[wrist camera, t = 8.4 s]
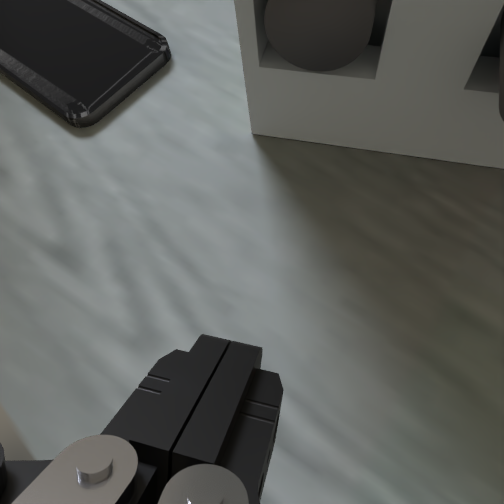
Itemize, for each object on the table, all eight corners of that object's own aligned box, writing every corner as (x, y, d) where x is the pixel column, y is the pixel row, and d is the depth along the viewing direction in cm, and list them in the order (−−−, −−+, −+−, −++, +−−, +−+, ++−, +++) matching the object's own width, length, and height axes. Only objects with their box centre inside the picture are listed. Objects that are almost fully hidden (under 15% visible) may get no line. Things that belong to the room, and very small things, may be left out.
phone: (77, 125, 23) (-62, 21, 28) (86, 138, 24) (-50, 36, 29) (176, 41, 25) (31, -41, 30) (181, 57, 26) (39, -25, 31)
